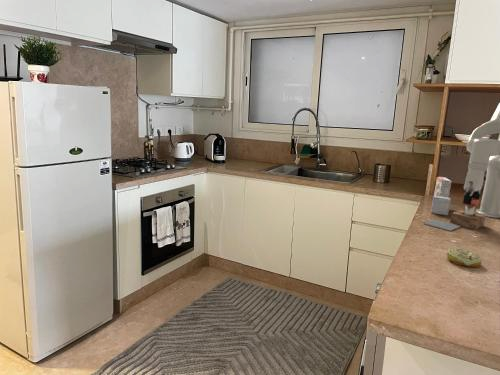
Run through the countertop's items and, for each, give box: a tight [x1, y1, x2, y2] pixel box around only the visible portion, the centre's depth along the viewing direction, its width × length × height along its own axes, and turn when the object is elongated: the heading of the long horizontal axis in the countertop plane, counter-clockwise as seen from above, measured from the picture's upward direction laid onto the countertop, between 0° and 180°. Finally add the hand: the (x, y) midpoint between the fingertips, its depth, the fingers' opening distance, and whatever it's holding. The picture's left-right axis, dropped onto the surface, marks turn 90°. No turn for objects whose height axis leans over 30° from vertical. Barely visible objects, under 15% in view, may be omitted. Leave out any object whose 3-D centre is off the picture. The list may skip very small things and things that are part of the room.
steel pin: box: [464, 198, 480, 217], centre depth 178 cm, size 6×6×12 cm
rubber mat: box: [423, 218, 462, 232], centre depth 175 cm, size 12×12×1 cm
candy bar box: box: [433, 176, 453, 198], centre depth 206 cm, size 11×5×16 cm, turn 168°
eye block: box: [449, 209, 487, 230], centre depth 179 cm, size 11×11×5 cm
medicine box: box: [430, 195, 452, 216], centre depth 195 cm, size 8×4×9 cm, turn 65°
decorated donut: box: [446, 247, 483, 268], centre depth 132 cm, size 10×11×4 cm
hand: (470, 202), depth 177 cm, fingers open, 9 cm apart
